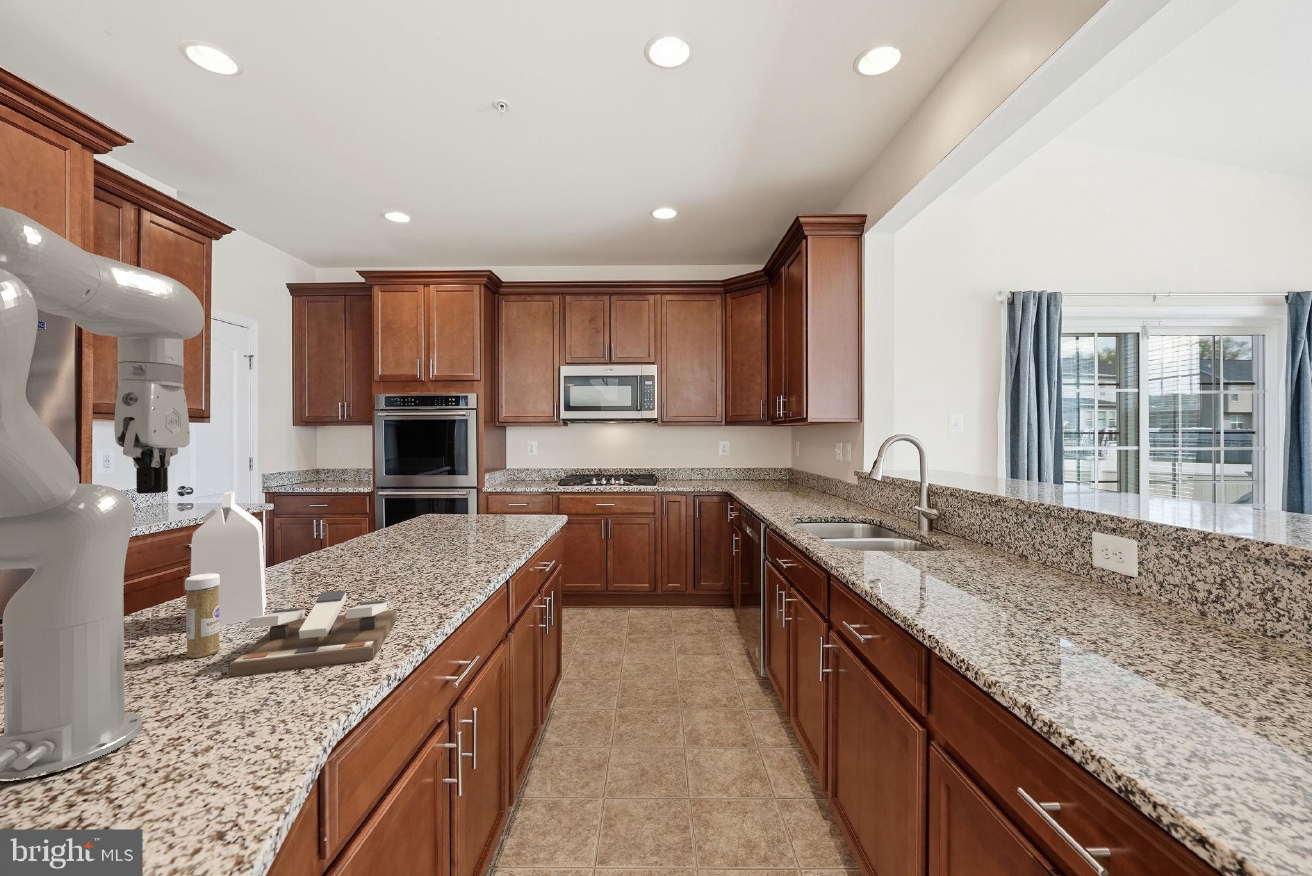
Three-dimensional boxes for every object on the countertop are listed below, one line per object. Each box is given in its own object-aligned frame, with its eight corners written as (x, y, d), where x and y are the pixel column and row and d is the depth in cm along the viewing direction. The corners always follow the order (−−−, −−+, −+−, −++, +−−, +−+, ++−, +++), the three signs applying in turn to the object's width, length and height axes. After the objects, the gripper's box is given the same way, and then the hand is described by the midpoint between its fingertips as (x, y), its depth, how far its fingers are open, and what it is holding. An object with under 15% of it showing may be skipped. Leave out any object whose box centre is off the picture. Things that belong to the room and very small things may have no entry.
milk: (263, 619, 107) (261, 493, 107) (188, 631, 100) (187, 497, 100) (266, 604, 117) (265, 488, 117) (198, 614, 110) (197, 492, 110)
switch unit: (372, 659, 86) (372, 635, 86) (230, 676, 81) (229, 650, 81) (396, 619, 106) (396, 600, 106) (282, 630, 100) (282, 610, 100)
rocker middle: (326, 635, 88) (325, 625, 88) (299, 638, 87) (298, 628, 87) (346, 598, 100) (345, 589, 99) (322, 600, 99) (321, 591, 98)
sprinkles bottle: (218, 654, 89) (217, 576, 89) (183, 661, 87) (182, 580, 87) (222, 645, 93) (221, 570, 93) (188, 652, 91) (187, 574, 91)
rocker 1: (277, 625, 86) (278, 613, 87) (249, 627, 85) (250, 615, 85) (304, 617, 97) (304, 606, 98) (279, 619, 96) (280, 609, 97)
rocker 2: (371, 616, 90) (372, 604, 90) (345, 618, 89) (346, 606, 89) (386, 609, 101) (387, 599, 102) (363, 611, 100) (364, 601, 101)
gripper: (147, 371, 76) (148, 496, 76) (207, 383, 91) (207, 488, 91) (84, 370, 74) (84, 498, 74) (155, 382, 89) (155, 490, 89)
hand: (152, 492), depth 82 cm, fingers closed
